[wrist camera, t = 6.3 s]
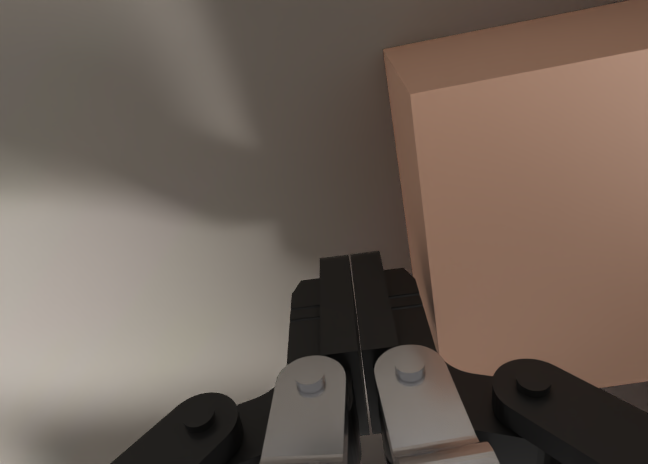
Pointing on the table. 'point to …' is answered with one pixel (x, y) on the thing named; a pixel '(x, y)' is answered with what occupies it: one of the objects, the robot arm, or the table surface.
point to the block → (530, 190)
